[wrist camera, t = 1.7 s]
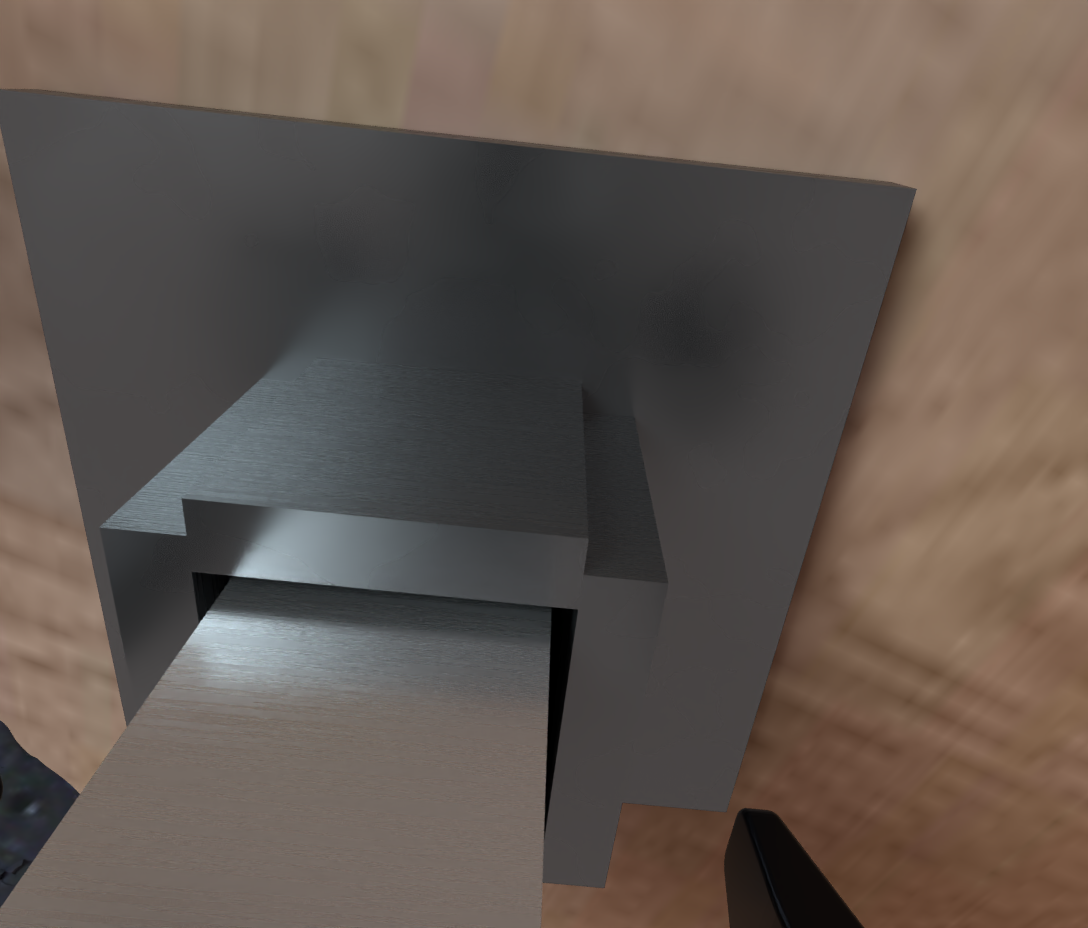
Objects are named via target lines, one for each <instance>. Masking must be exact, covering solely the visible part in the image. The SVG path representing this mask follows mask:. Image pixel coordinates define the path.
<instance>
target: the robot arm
mask: <svg viewBox="0 0 1088 928" xmlns="http://www.w3.org/2000/svg"><path fill="white" fill-rule="evenodd" d="M2 794H3V782H2V778H1V775H0V801H1V798H2ZM724 872H725V883H726V893H727V903H728V913H729V923H730V928H864V927H863V926H862V924H861V923H860V922H859V920H858V919H857V918H856V916H855V915H854V914H853V913H852V911H851V910H850V909H849V907H848V906H847V905H846V903H845V902H844V901H843V899H842V898H841V897H840V896H839V894H838V893H837V892H836V890H835V889H834V888H833V886H832V885H831V884H830V882H829V881H828V880H827V879H826V877H825V876H824V875H823V873H822V872H821V871H820V869H819V868H818V867H817V865H816V864H815V863H814V862H813V860H812V859H811V858H810V856H809V855H808V854H807V852H806V851H805V850H804V849H803V847H802V846H801V845H800V843H799V842H798V841H797V839H796V838H795V837H794V835H793V834H792V833H791V832H790V830H789V829H788V828H787V826H786V825H785V824H784V822H783V821H782V820H781V818H780V817H779V816H778V815H777V814H775V813H774V812H772V811H769V810H760V809H749V808H744V809H742V810H740V811H739V813H738V815H737V817H736V820H735V823H734V826H733V830H732V833H731V836H730V839H729V842H728V845H727V849H726V852H725V860H724Z"/></svg>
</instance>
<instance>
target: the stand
mask: <svg viewBox="0 0 1088 928" xmlns="http://www.w3.org/2000/svg"><path fill="white" fill-rule="evenodd" d="M0 127H1V131H2V136H3V141H4V146H5V150H6V155H7V160H8V165H9V169H10V174H11V179H12V184H13V188H14V193H15V198H16V203H17V207H18V212H19V217H20V222H21V226H22V231H23V236H24V241H25V245H26V250H27V255H28V260H29V264H30V269H31V274H32V279H33V283H34V288H35V293H36V298H37V302H38V307H39V312H40V317H41V321H42V326H43V331H44V336H45V340H46V345H47V350H48V355H49V359H50V364H51V369H52V374H53V378H54V383H55V388H56V393H57V397H58V402H59V407H60V412H61V416H62V421H63V426H64V431H65V435H66V440H67V445H68V450H69V454H70V459H71V464H72V469H73V473H74V478H75V483H76V488H77V492H78V497H79V502H80V507H81V511H82V516H83V521H84V526H85V530H86V535H87V540H88V545H89V549H90V554H91V559H92V564H93V568H94V573H95V578H96V583H97V587H98V592H99V597H100V602H101V606H102V611H103V616H104V621H105V625H106V630H107V635H108V640H109V644H110V649H111V654H112V659H113V663H114V668H115V673H116V678H117V682H118V687H119V692H120V697H121V701H122V706H123V711H124V716H125V720H126V725H127V726H128V725H129V723H130V722H131V721H132V719H133V718H134V716H135V715H136V713H137V712H138V711H139V709H140V708H141V706H142V705H143V703H144V702H145V701H146V699H147V698H148V696H149V695H150V693H151V692H152V691H153V689H154V688H155V686H156V685H157V683H158V682H159V681H160V679H161V678H162V676H163V675H164V673H165V672H166V671H167V669H168V668H169V666H170V665H171V663H172V662H173V661H174V659H175V658H176V656H177V655H178V653H179V652H180V651H181V649H182V648H183V646H184V645H185V643H186V642H187V641H188V639H189V638H190V636H191V635H192V633H193V632H194V631H195V629H196V628H197V626H198V625H199V623H200V622H201V621H202V619H203V618H204V616H205V615H206V613H207V612H208V611H209V609H210V608H211V606H212V605H213V603H214V602H215V601H216V599H217V598H218V596H219V595H220V593H221V592H222V591H223V589H224V588H225V586H226V585H227V583H228V582H229V581H230V579H231V578H232V576H240V577H250V578H260V579H270V580H281V581H291V582H301V583H311V584H322V585H332V586H342V587H352V588H363V589H373V590H383V591H393V592H404V593H414V594H424V595H434V596H445V597H455V598H465V599H475V600H486V601H496V602H506V603H516V604H527V605H537V606H547V607H551V635H550V665H549V696H548V727H547V757H546V788H545V818H544V849H543V879H542V882H543V883H554V884H565V885H576V886H587V887H598V888H604V887H605V882H606V878H607V873H608V868H609V863H610V859H611V854H612V849H613V844H614V840H615V835H616V830H617V826H618V821H619V816H620V811H621V807H622V803H632V804H642V805H653V806H664V807H675V808H685V809H696V810H707V811H718V812H727V808H728V805H729V802H730V798H731V795H732V792H733V789H734V785H735V782H736V779H737V776H738V772H739V769H740V766H741V762H742V759H743V756H744V753H745V749H746V746H747V743H748V740H749V736H750V733H751V730H752V726H753V723H754V720H755V717H756V713H757V710H758V707H759V704H760V700H761V697H762V694H763V690H764V687H765V684H766V681H767V677H768V674H769V671H770V668H771V664H772V661H773V658H774V654H775V651H776V648H777V645H778V641H779V638H780V635H781V632H782V628H783V625H784V622H785V618H786V615H787V612H788V609H789V605H790V602H791V599H792V596H793V592H794V589H795V586H796V582H797V579H798V576H799V573H800V569H801V566H802V563H803V560H804V556H805V553H806V550H807V546H808V543H809V540H810V537H811V533H812V530H813V527H814V523H815V520H816V517H817V514H818V510H819V507H820V504H821V501H822V497H823V494H824V491H825V487H826V484H827V481H828V478H829V474H830V471H831V468H832V465H833V461H834V458H835V455H836V451H837V448H838V445H839V442H840V438H841V435H842V432H843V429H844V425H845V422H846V419H847V415H848V412H849V409H850V406H851V402H852V399H853V396H854V393H855V389H856V386H857V383H858V379H859V376H860V373H861V370H862V366H863V363H864V360H865V357H866V353H867V350H868V347H869V343H870V340H871V337H872V334H873V330H874V327H875V324H876V321H877V317H878V314H879V311H880V307H881V304H882V301H883V298H884V294H885V291H886V288H887V285H888V281H889V278H890V275H891V271H892V268H893V265H894V262H895V258H896V255H897V252H898V249H899V245H900V242H901V239H902V235H903V232H904V229H905V226H906V222H907V219H908V216H909V213H910V209H911V206H912V203H913V199H914V196H915V193H916V190H917V189H915V188H911V187H907V186H903V185H900V184H896V183H892V182H884V181H875V180H866V179H857V178H848V177H838V176H829V175H820V174H811V173H801V172H792V171H783V170H774V169H765V168H755V167H746V166H737V165H728V164H719V163H709V162H700V161H691V160H682V159H673V158H663V157H654V156H645V155H636V154H627V153H617V152H608V151H599V150H590V149H580V148H571V147H562V146H553V145H544V144H534V143H525V142H516V141H507V140H498V139H488V138H479V137H470V136H461V135H452V134H442V133H433V132H424V131H415V130H406V129H396V128H387V127H378V126H369V125H359V124H350V123H341V122H332V121H323V120H313V119H304V118H295V117H286V116H277V115H267V114H258V113H249V112H240V111H231V110H221V109H212V108H203V107H194V106H185V105H175V104H166V103H157V102H148V101H138V100H129V99H120V98H111V97H102V96H92V95H83V94H74V93H65V92H56V91H46V90H37V89H0Z"/></svg>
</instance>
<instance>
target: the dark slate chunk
mask: <svg viewBox="0 0 1088 928" xmlns="http://www.w3.org/2000/svg"><path fill="white" fill-rule="evenodd" d="M0 775H1V778H2V782H3V794H2V798H1V801H0V908H1V906H2V905H3V904H4V902H5V901H6V899H7V898H8V896H9V895H10V894H11V892H12V891H13V889H14V888H15V886H16V885H17V884H18V882H19V881H20V879H21V878H22V876H23V875H24V874H25V872H26V871H27V869H28V868H29V866H30V865H31V864H32V862H33V861H34V859H35V858H36V856H37V855H38V854H39V852H40V851H41V849H42V848H43V846H44V845H45V844H46V842H47V841H48V839H49V838H50V836H51V835H52V834H53V832H54V831H55V829H56V828H57V826H58V825H59V824H60V822H61V821H62V819H63V818H64V816H65V815H66V814H67V812H68V811H69V809H70V808H71V806H72V805H73V804H74V802H75V801H76V799H77V798H78V796H79V795H80V794H79V793H78V792H77V791H76V790H75V789H74V788H73V787H72V786H71V785H70V784H69V783H68V782H66V781H65V780H64V779H63V778H62V777H60V776H59V775H58V774H56V773H55V772H54V771H52V770H51V769H49V768H48V767H46V766H45V765H44V764H43V763H42V762H41V761H39V760H38V759H37V758H35V757H33V756H31V755H29V754H28V753H27V752H26V751H25V750H24V749H23V748H22V747H21V746H20V745H19V744H18V742H17V741H16V740H15V738H14V737H13V735H12V733H11V732H10V730H9V729H8V727H7V726H6V725H5V724H4V723H3V722H2V721H0Z"/></svg>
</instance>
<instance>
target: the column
mask: <svg viewBox="0 0 1088 928" xmlns="http://www.w3.org/2000/svg"><path fill="white" fill-rule="evenodd" d="M550 635H551V607H547V606H537V605H527V604H516V603H506V602H496V601H486V600H475V599H465V598H455V597H445V596H434V595H424V594H414V593H404V592H393V591H383V590H373V589H363V588H352V587H342V586H332V585H322V584H311V583H301V582H291V581H281V580H270V579H260V578H250V577H240V576H232V578H231V579H230V581H229V582H228V583H227V585H226V586H225V588H224V589H223V591H222V592H221V593H220V595H219V596H218V598H217V599H216V601H215V602H214V603H213V605H212V606H211V608H210V609H209V611H208V612H207V613H206V615H205V616H204V618H203V619H202V621H201V622H200V623H199V625H198V626H197V628H196V629H195V631H194V632H193V633H192V635H191V636H190V638H189V639H188V641H187V642H186V643H185V645H184V646H183V648H182V649H181V651H180V652H179V653H178V655H177V656H176V658H175V659H174V661H173V662H172V663H171V665H170V666H169V668H168V669H167V671H166V672H165V673H164V675H163V676H162V678H161V679H160V681H159V682H158V683H157V685H156V686H155V688H154V689H153V691H152V692H151V693H150V695H149V696H148V698H147V699H146V701H145V702H144V703H143V705H142V706H141V708H140V709H139V711H138V712H137V713H136V715H135V716H134V718H133V719H132V721H131V722H130V723H129V725H128V726H127V728H126V729H125V731H124V732H123V733H122V735H121V736H120V738H119V739H118V741H117V742H116V743H115V745H114V746H113V748H112V749H111V751H110V752H109V753H108V755H107V756H106V758H105V759H104V761H103V762H102V763H101V765H100V766H99V768H98V769H97V771H96V772H95V773H94V775H93V776H92V778H91V779H90V781H89V782H88V783H87V785H86V786H85V788H84V789H83V791H82V792H81V793H80V795H79V796H78V798H77V799H76V801H75V802H74V804H73V805H72V806H71V808H70V809H69V811H68V812H67V814H66V815H65V816H64V818H63V819H62V821H61V822H60V824H59V825H58V826H57V828H56V829H55V831H54V832H53V834H52V835H51V836H50V838H49V839H48V841H47V842H46V844H45V845H44V846H43V848H42V849H41V851H40V852H39V854H38V855H37V856H36V858H35V859H34V861H33V862H32V864H31V865H30V866H29V868H28V869H27V871H26V872H25V874H24V875H23V876H22V878H21V879H20V881H19V882H18V884H17V885H16V886H15V888H14V889H13V891H12V892H11V894H10V895H9V896H8V898H7V899H6V901H5V902H4V904H3V905H2V906H1V908H0V928H541V910H542V879H543V849H544V818H545V788H546V757H547V727H548V696H549V665H550Z"/></svg>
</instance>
